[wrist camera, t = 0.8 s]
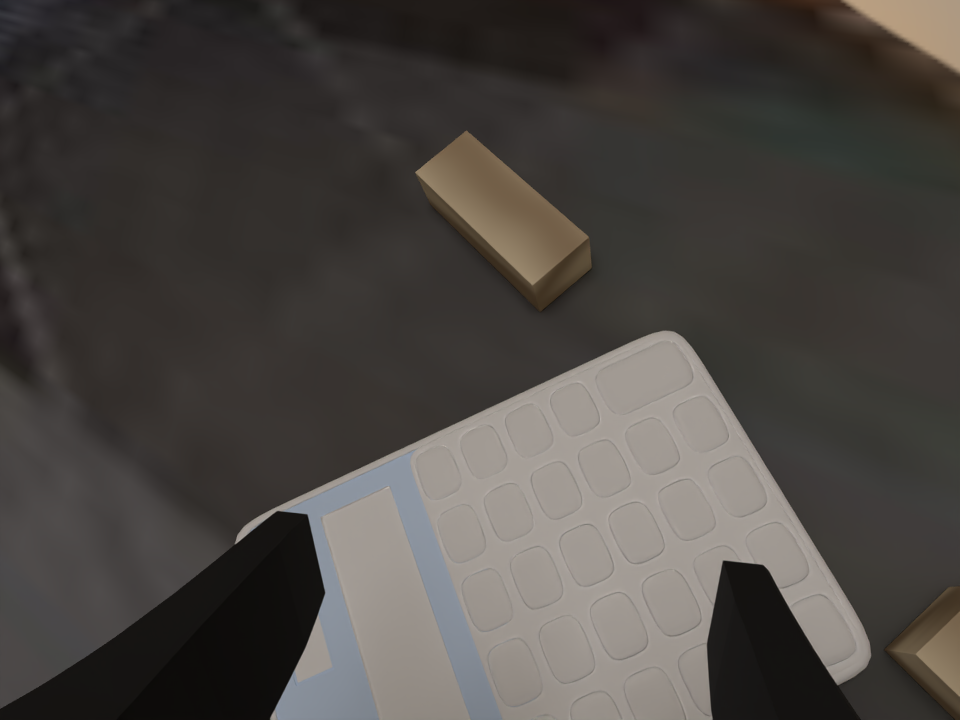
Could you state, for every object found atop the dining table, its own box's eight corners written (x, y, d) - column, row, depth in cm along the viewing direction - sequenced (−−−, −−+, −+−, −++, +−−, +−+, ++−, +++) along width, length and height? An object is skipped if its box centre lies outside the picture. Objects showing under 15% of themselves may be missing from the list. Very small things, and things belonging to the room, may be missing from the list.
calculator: (874, 662, 21) (896, 666, 20) (332, 899, 22) (307, 923, 20) (674, 332, 27) (677, 313, 25) (244, 532, 28) (219, 527, 26)
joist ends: (1137, 898, 18) (1212, 940, 16) (430, 204, 31) (415, 172, 29) (1210, 821, 18) (1294, 851, 16) (477, 165, 31) (466, 130, 29)
